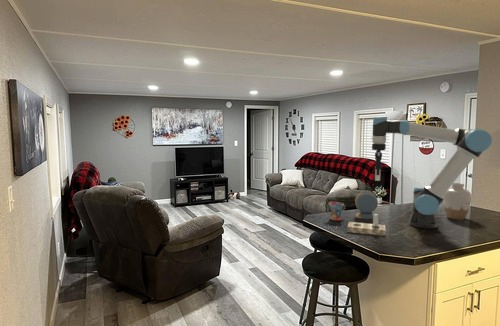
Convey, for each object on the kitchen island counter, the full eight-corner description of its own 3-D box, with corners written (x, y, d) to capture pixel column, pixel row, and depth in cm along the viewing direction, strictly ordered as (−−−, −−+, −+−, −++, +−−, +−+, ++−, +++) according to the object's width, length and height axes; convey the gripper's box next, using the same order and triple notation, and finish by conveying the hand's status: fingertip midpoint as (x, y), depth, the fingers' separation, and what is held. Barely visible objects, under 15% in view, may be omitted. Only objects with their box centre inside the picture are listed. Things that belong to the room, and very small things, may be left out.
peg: (378, 231, 192) (378, 214, 191) (378, 233, 190) (378, 215, 189) (372, 231, 193) (373, 213, 192) (372, 232, 190) (373, 215, 190)
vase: (465, 222, 212) (467, 186, 209) (438, 217, 223) (440, 183, 221) (473, 218, 222) (475, 184, 220) (447, 213, 234) (449, 181, 232)
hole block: (384, 230, 195) (384, 225, 194) (385, 235, 185) (385, 230, 184) (348, 226, 202) (349, 221, 201) (347, 231, 191) (347, 226, 191)
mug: (335, 222, 211) (335, 205, 210) (325, 218, 219) (326, 202, 218) (349, 220, 217) (350, 203, 215) (339, 216, 225) (340, 201, 224)
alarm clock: (375, 215, 229) (376, 189, 227) (378, 219, 219) (379, 192, 217) (353, 214, 231) (354, 189, 229) (355, 218, 222) (356, 191, 220)
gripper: (372, 142, 211) (370, 175, 214) (372, 144, 188) (370, 181, 190) (385, 142, 209) (383, 176, 211) (386, 144, 186) (384, 182, 188)
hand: (377, 179), depth 201 cm, fingers open, 13 cm apart
